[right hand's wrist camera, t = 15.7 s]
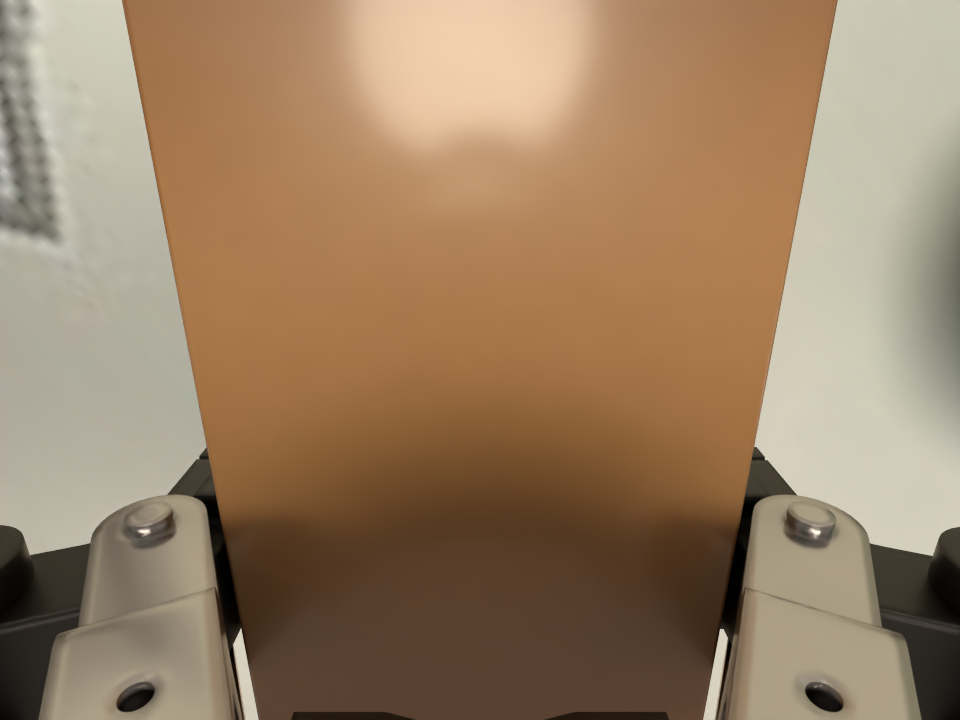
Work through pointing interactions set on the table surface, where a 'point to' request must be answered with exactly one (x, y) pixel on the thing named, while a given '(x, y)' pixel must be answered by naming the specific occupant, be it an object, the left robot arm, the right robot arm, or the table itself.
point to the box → (480, 330)
